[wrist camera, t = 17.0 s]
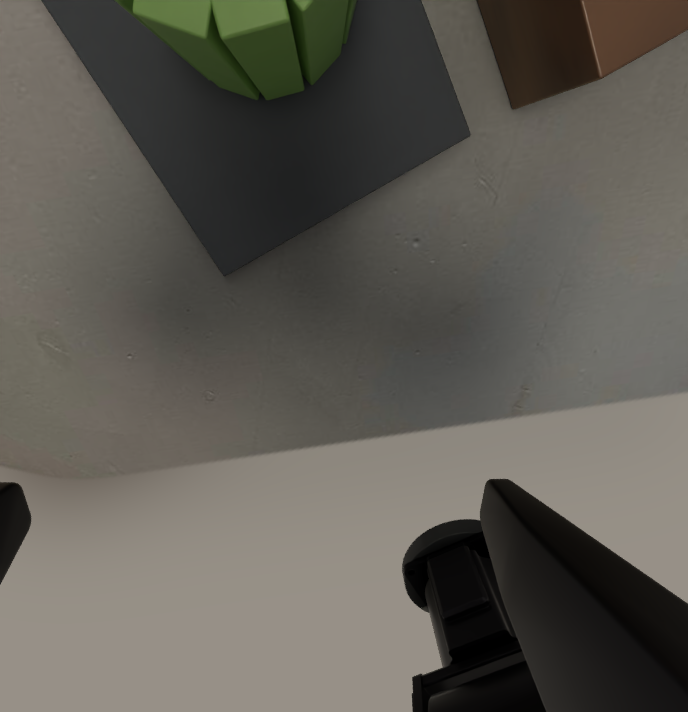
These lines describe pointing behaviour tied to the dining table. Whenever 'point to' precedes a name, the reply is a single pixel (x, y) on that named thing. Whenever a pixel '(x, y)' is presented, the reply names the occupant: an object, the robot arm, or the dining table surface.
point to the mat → (273, 122)
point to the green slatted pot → (251, 39)
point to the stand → (573, 40)
